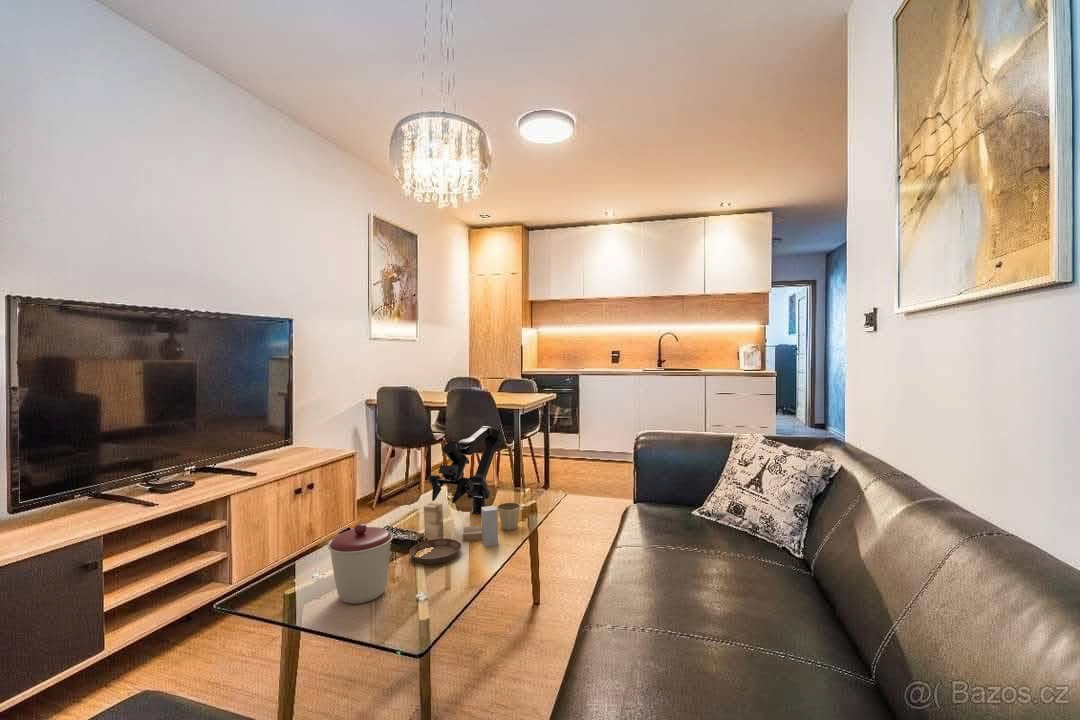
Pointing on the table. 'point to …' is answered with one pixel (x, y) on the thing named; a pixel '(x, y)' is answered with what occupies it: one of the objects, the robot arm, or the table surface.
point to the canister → (361, 563)
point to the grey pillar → (489, 526)
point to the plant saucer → (436, 550)
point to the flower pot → (509, 515)
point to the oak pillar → (433, 520)
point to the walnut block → (472, 533)
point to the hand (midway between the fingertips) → (442, 501)
